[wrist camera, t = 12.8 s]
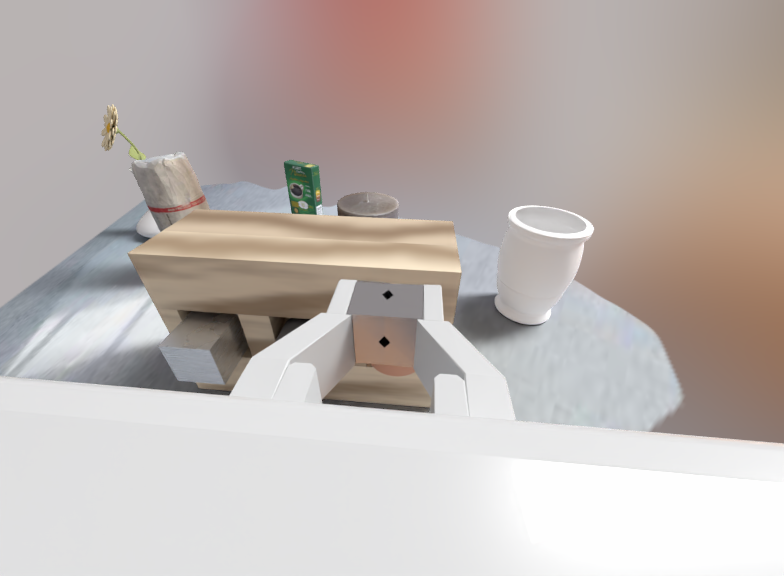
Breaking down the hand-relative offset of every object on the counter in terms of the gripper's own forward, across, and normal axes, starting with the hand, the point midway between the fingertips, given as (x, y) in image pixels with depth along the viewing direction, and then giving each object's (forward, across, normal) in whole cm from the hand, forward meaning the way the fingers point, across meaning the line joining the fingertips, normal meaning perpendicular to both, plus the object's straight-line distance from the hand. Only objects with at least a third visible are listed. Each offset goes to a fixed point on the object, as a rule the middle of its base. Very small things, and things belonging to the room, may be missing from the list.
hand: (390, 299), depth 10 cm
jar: (+33, +18, -26) cm, 46 cm away
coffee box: (+63, -26, -27) cm, 73 cm away
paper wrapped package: (+38, -37, -26) cm, 60 cm away
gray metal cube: (+12, -19, -19) cm, 29 cm away
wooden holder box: (+19, -10, -26) cm, 33 cm away
